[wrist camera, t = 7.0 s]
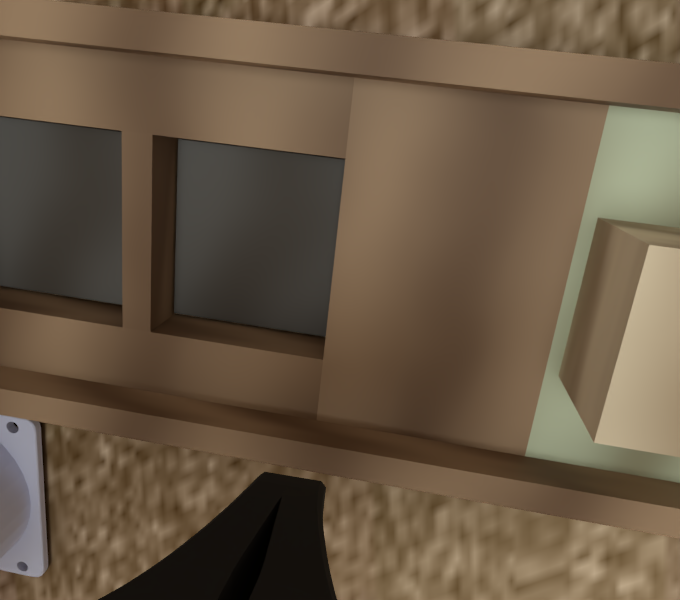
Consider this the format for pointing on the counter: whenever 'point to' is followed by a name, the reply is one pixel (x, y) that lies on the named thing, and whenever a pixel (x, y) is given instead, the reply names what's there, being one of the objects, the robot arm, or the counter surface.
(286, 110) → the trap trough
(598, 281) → the birch block
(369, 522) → the counter surface
